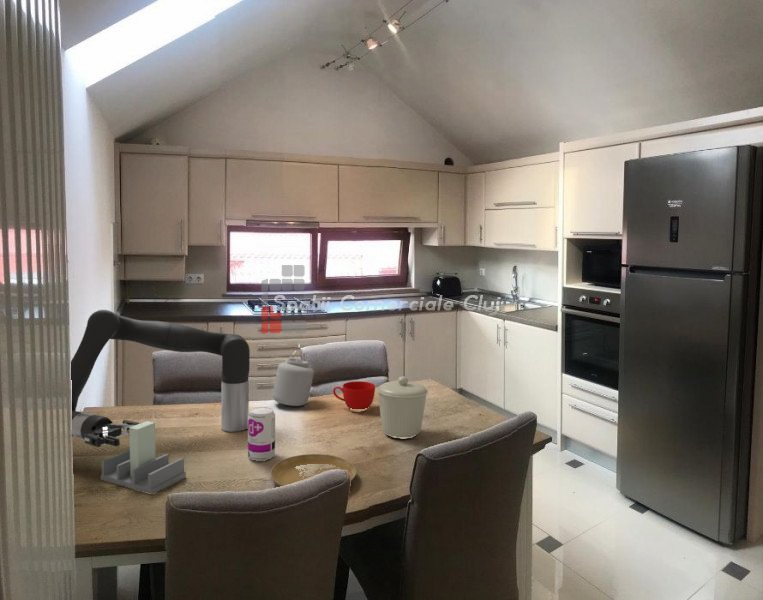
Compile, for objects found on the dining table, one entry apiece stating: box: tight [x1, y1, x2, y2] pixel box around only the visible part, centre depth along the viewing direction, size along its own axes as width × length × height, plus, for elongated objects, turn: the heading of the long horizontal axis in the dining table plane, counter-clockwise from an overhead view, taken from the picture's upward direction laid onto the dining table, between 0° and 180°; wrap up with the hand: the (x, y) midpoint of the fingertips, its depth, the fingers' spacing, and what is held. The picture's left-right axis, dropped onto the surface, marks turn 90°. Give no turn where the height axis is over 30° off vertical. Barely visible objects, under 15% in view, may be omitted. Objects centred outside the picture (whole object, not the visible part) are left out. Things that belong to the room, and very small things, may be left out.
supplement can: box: [247, 406, 276, 462], centre depth 167 cm, size 8×8×15 cm
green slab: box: [128, 420, 157, 477], centre depth 150 cm, size 3×6×14 cm, turn 156°
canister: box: [376, 375, 429, 437], centre depth 189 cm, size 18×18×21 cm
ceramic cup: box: [332, 380, 376, 409], centre depth 215 cm, size 13×17×10 cm
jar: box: [271, 343, 315, 407], centre depth 219 cm, size 19×15×25 cm
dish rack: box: [100, 448, 186, 495], centre depth 150 cm, size 19×12×6 cm, turn 66°
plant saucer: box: [270, 453, 357, 488], centre depth 153 cm, size 24×24×3 cm
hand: (131, 437), depth 151 cm, fingers open, 8 cm apart
